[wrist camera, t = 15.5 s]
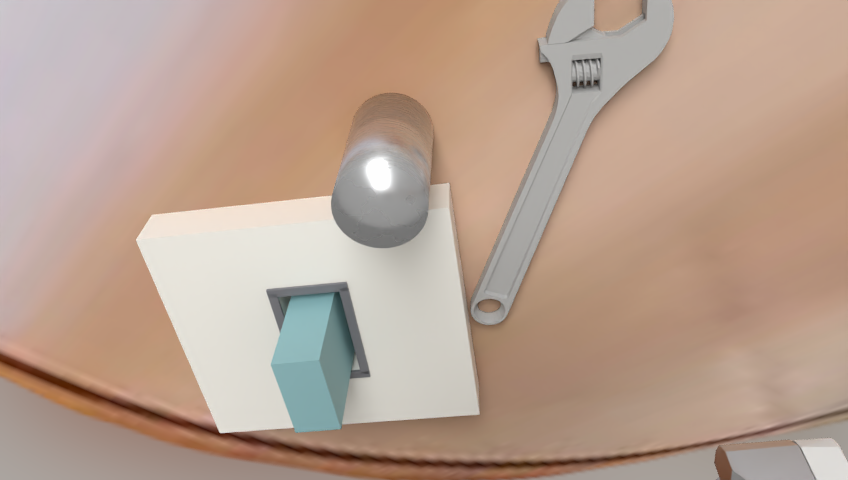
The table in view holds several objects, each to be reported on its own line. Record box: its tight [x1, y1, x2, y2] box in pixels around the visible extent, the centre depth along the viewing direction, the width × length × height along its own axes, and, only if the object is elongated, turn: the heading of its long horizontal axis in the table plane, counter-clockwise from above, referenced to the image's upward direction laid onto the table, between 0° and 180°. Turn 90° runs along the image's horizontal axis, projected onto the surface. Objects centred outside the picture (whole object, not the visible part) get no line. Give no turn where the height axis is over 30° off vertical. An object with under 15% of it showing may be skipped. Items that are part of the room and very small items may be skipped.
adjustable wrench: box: [471, 0, 674, 325], centre depth 46 cm, size 25×6×2 cm, turn 160°
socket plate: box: [136, 183, 480, 433], centre depth 52 cm, size 20×18×3 cm
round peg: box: [331, 93, 433, 248], centre depth 42 cm, size 5×5×9 cm
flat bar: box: [271, 292, 355, 433], centre depth 50 cm, size 3×6×9 cm, turn 9°
